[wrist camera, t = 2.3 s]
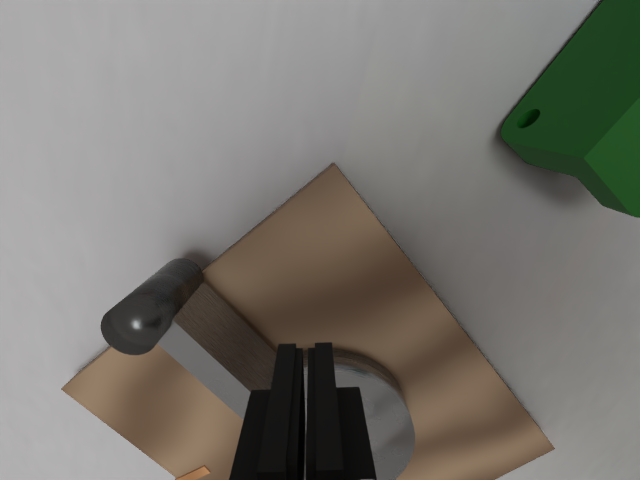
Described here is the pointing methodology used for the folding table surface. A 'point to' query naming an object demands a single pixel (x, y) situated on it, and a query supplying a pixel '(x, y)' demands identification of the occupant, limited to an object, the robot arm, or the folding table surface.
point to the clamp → (589, 109)
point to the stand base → (319, 327)
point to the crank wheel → (247, 356)
